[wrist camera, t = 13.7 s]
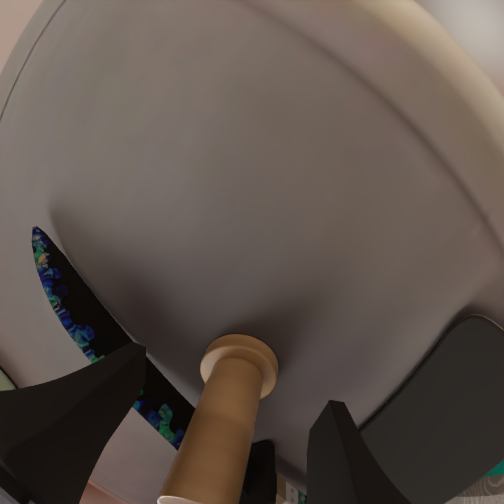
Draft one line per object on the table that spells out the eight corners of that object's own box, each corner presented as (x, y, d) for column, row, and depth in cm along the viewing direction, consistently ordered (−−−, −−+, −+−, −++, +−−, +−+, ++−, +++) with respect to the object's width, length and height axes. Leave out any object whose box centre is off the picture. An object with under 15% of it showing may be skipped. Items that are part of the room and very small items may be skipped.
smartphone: (307, 472, 15) (467, 300, 10) (315, 468, 16) (469, 300, 11) (366, 543, 10) (566, 392, 5) (373, 536, 10) (564, 387, 5)
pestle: (266, 396, 14) (239, 535, 6) (199, 376, 14) (141, 505, 6) (288, 346, 13) (271, 511, 5) (212, 323, 13) (136, 472, 5)
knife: (349, 509, 16) (348, 549, 11) (317, 517, 17) (313, 555, 12) (90, 191, 14) (28, 197, 10) (64, 223, 15) (7, 236, 10)
